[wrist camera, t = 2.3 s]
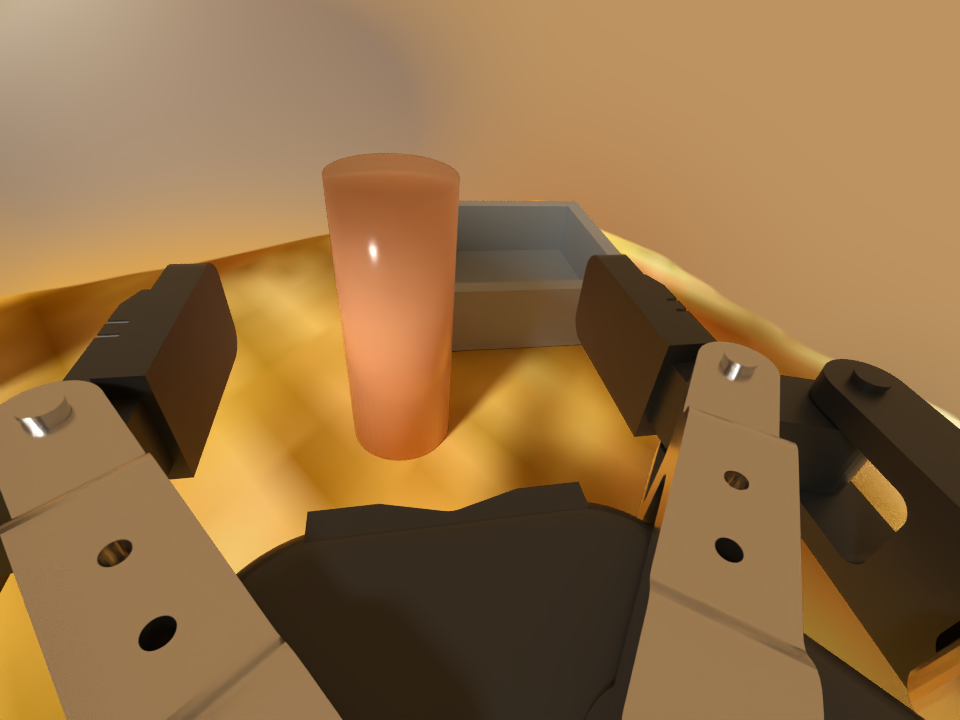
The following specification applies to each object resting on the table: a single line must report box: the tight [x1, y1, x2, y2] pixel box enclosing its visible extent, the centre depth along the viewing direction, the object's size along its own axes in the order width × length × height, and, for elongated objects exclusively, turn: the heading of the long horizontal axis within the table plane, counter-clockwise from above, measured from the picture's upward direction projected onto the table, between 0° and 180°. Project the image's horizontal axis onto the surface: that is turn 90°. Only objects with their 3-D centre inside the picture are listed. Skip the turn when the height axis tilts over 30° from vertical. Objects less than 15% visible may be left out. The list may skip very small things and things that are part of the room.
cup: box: [322, 153, 460, 460], centre depth 25 cm, size 6×6×15 cm
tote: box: [452, 201, 620, 351], centre depth 41 cm, size 16×16×5 cm
